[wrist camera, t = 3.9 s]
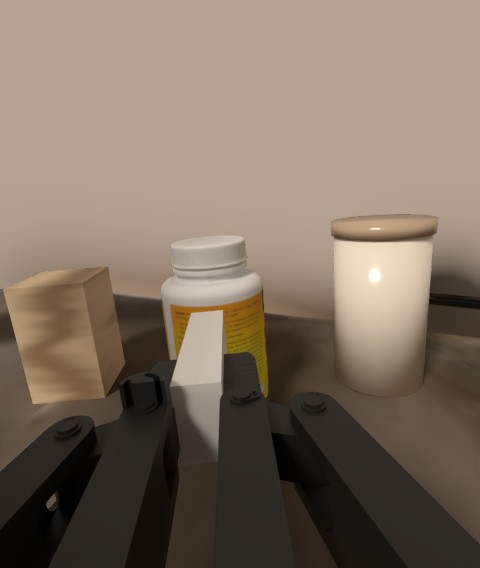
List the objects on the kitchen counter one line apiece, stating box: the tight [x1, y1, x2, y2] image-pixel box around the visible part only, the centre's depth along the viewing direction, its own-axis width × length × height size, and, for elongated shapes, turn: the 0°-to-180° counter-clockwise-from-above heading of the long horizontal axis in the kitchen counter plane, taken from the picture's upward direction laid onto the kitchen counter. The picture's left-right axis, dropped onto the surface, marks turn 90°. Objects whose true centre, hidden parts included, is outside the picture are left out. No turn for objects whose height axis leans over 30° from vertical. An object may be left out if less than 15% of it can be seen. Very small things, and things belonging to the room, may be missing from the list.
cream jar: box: [331, 214, 438, 397], centre depth 28 cm, size 7×7×13 cm
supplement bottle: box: [161, 235, 269, 400], centre depth 25 cm, size 7×7×13 cm
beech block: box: [3, 267, 125, 404], centre depth 31 cm, size 6×6×10 cm
